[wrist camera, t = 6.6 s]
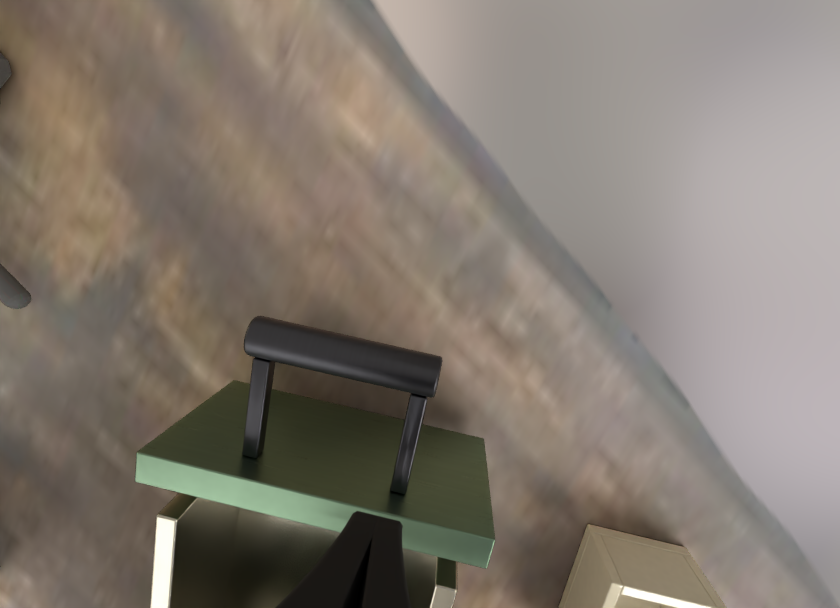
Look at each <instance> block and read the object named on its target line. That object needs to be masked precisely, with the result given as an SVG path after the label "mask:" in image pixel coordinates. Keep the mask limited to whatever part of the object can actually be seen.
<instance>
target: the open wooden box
mask: <svg viewBox="0 0 840 608" xmlns="http://www.w3.org/2000/svg"><path fill="white" fill-rule="evenodd" d="M558 608H727V607H726V606H725V604H724V603H723V601H722V600H721V598H720V597H719V595H718V594H717V593H716V591H715V590H714V588H713V587H712V585H711V584H710V582H709V581H708V579H707V578H706V576H705V575H704V573H703V572H702V570H701V569H700V568H699V566H698V565H697V563H696V562H695V560H694V559H693V557H691V555H690V553H689V552H688V550H687V549H686V548H685V547H682V546H678V545H674V544H670V543H666V542H661V541H657V540H653V539H649V538H645V537H641V536H637V535H632V534H628V533H624V532H620V531H616V530H612V529H607V528H603V527H599V526H595V525H591V524H588V525H587V527H586V530H585V533H584V536H583V539H582V541H581V544H580V547H579V550H578V553H577V556H576V559H575V561H574V564H573V567H572V570H571V573H570V576H569V579H568V581H567V584H566V587H565V590H564V593H563V596H562V599H561V601H560V604H559V607H558Z"/></svg>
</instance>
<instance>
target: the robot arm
mask: <svg viewBox="0 0 840 608" xmlns="http://www.w3.org/2000/svg"><path fill="white" fill-rule="evenodd" d="M402 528H403V525H402V524H401V522H400V521H397V520H393V519H389V518H385V517H381V516H377V515H372V514H368V513H364V512H360V511H356V512H354V513H353V514H352V515H351V517H350V519H349V521H348V522H347V524H346V526H345V527H344V529H343V530H342V531H341V533H340V534H339V536H338V537H337V538H336V540H335V541H334V542H333V544H332V545H331V546H330V548H329V549H328V550H327V551H326V553H325V554H324V555H323V556H322V557H321V559H320V560H319V561H318V562H317V564H316V565H315V566H314V567H313V568H312V569H311V571H310V572H309V573H308V574H307V575H306V576H305V577H304V578H303V579H302V580H301V581H300V583H299V584H298V585H297V586H296V587H295V588H294V589H293V590H292V591H291V592H290V593H289V594H288V595H287V596H286V597H285V598H284V599H283V600H282V601H281V602H280V603H279V604H278V605H277V606H276V607H275V608H411V603H410V598H409V593H408V587H407V581H406V575H405V568H404V559H403V548H402Z"/></svg>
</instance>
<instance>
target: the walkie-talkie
mask: <svg viewBox="0 0 840 608" xmlns="http://www.w3.org/2000/svg"><path fill="white" fill-rule="evenodd" d="M11 74H12V73H11V69H10V65H9V61H8V60H7V59H6V58H5V57H4V56H3V55H2V54H1V53H0V89H1V88H2V86H3V85H4V84H5V82H6V81H7V80H8V78H9V77H10V76H11ZM0 301H1V302H2V303H3V304H4V305H5V306H7V307H10V308H13V309H19V308H23V307H25V306H27V305H28V304H29V303H30V302H31V295H30V293H29V292H28V291H27V290H26V289H25V288H24V287H23V286H22V285H21V284H20V283H19V282H18V281H17V280H16V279H15V278H14V277H13V276H12V275H11V274H10V273H9V272H8V271H7V270H6V269H5V268H4V267H3V266H2V265H1V264H0Z"/></svg>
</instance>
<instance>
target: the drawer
mask: <svg viewBox="0 0 840 608" xmlns="http://www.w3.org/2000/svg"><path fill="white" fill-rule="evenodd" d="M244 350H245V353H246V354H247V355H249V356H253V357H255V358H254V359H253V364H252V373H251V381H250V384H248V383H244V382H240V381H236V380H233V381H232V382H231V383H229V384H228V385H227V386H225V387H224V388H223V389H221V390H220V391H218V392H217V393H216V394H214V395H213V396H212V397H210V398H209V399H208V400H206V401H205V402H204V403H202V404H201V405H200V406H198V407H197V408H196V409H194V410H193V411H192V412H190V413H189V414H187V415H186V416H185V417H183V418H182V419H181V420H179V421H178V422H177V423H175V424H174V425H173V426H171V427H170V428H169V429H167V430H166V431H165V432H163V433H162V434H160V435H159V436H158V437H156V438H155V439H154V440H152V441H151V442H150V443H148V444H147V445H146V446H144V447H143V448H142V449H140V450H139V451H138V452H137V453H136V471H135V482H138V483H142V484H146V485H150V486H154V487H158V488H162V489H166V490H170V491H174V492H178V494H177V495H176V496H175V497H174V498H173V499H172V500H171V501H170V502H169V503H168V504H167V505H166V506H165V507H164V508H163V509H162V510H161V511H160V512H159V513H158V514H157V516H156V529H155V544H154V559H153V574H152V588H151V603H150V608H275V607H276V606H277V605H278V604H279V603H280V602H281V601H282V600H283V599H284V598H285V597H286V596H287V595H288V594H289V593H290V592H291V591H292V590H293V589H294V588H295V587H296V586H297V585H298V584H299V583H300V581H301V580H302V579H303V578H304V577H305V576H306V575H307V574H308V573H309V572H310V571H311V569H312V568H313V567H314V566H315V565H316V564H317V562H318V561H319V560H320V559H321V557H322V556H323V555H324V554H325V553H326V551H327V550H328V549H329V548H330V546H331V545H332V544H333V542H334V541H335V540H336V538H337V537H338V536H339V534H340V533H341V531H342V530H343V529H344V527H345V526H346V524H347V522H348V521H349V519H350V517H351V515H352V514H353V513H354V512H356V511H360V512H364V513H368V514H372V515H377V516H381V517H385V518H389V519H393V520H397V521H400V522H401V524H402V525H403V528H402V548H403V559H404V568H405V575H406V581H407V587H408V593H409V598H410V603H411V608H453V604H454V601H455V597H456V593H457V562H461V563H465V564H469V565H473V566H477V567H481V568H485V569H487V567H488V564H489V560H490V557H491V553H492V550H493V546H494V543H495V533H494V524H493V515H492V506H491V497H490V488H489V480H488V471H487V462H486V453H485V444H484V439H483V438H479V437H475V436H471V435H466V434H462V433H458V432H453V431H449V430H445V429H441V428H436V427H432V426H428V425H424V424H422V421H423V417H424V413H425V408H426V404H427V399H428V397H430V398H432V397H434V396H435V393H436V389H437V385H438V380H439V376H440V371H441V366H442V357H440V356H436V355H432V354H427V353H423V352H418V351H414V350H409V349H405V348H401V347H396V346H392V345H387V344H383V343H379V342H374V341H370V340H365V339H361V338H356V337H352V336H348V335H343V334H339V333H334V332H330V331H326V330H321V329H317V328H312V327H308V326H303V325H299V324H295V323H290V322H286V321H281V320H277V319H272V318H268V317H264V316H257V317H255V318H254V319H253V320H252V321H251V323H250V324H249V326H248V328H247V331H246V334H245V339H244ZM275 362H279V363H283V364H288V365H292V366H296V367H301V368H305V369H309V370H314V371H318V372H322V373H327V374H331V375H335V376H340V377H344V378H348V379H353V380H357V381H361V382H366V383H370V384H374V385H379V386H383V387H387V388H391V389H396V390H400V391H404V392H409V393H411V394H410V398H409V403H408V407H407V412H406V417H405V420H402V419H398V418H394V417H389V416H385V415H381V414H377V413H372V412H368V411H364V410H359V409H355V408H351V407H347V406H342V405H338V404H334V403H330V402H325V401H321V400H317V399H312V398H308V397H304V396H300V395H295V394H291V393H287V392H283V391H278V390H274V389H272V383H273V375H274V368H275Z"/></svg>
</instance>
